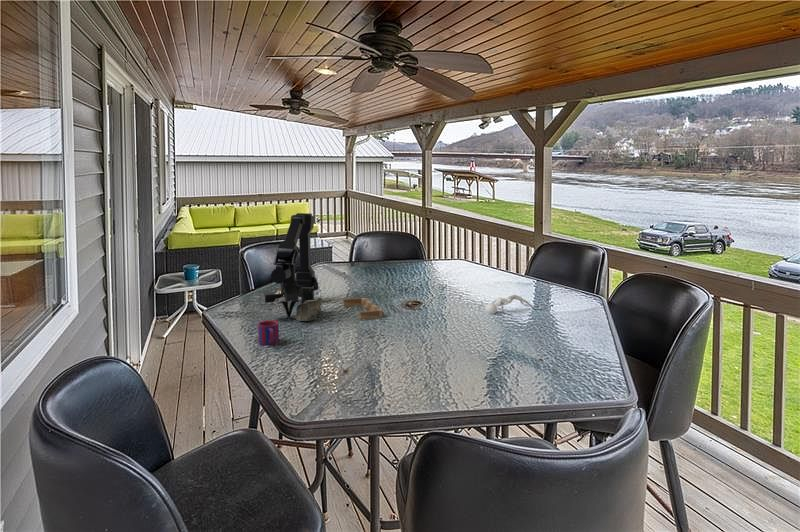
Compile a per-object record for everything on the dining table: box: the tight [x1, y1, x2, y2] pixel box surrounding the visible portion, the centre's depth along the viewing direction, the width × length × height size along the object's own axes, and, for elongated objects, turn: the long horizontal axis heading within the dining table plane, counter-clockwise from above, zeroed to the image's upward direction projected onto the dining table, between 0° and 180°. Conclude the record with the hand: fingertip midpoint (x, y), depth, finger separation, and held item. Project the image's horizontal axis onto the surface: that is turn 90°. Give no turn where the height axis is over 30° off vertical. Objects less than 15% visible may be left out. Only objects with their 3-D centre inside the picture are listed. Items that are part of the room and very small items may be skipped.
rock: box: [294, 297, 322, 322], centre depth 205 cm, size 17×7×10 cm
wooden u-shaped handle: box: [342, 297, 383, 321], centre depth 215 cm, size 23×10×3 cm, turn 24°
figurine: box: [485, 294, 542, 315], centre depth 220 cm, size 9×10×25 cm
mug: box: [257, 320, 280, 346], centre depth 173 cm, size 7×10×7 cm
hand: (288, 316), depth 203 cm, fingers closed
